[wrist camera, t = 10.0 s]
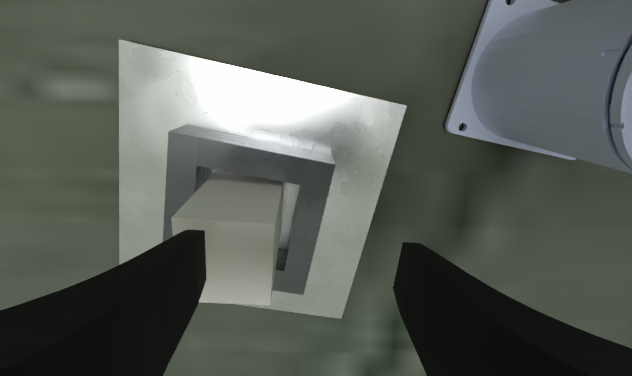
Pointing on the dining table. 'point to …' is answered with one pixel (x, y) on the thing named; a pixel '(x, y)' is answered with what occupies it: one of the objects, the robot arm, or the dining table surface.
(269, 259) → the plug
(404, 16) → the dining table surface
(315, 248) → the socket
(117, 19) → the dining table surface
